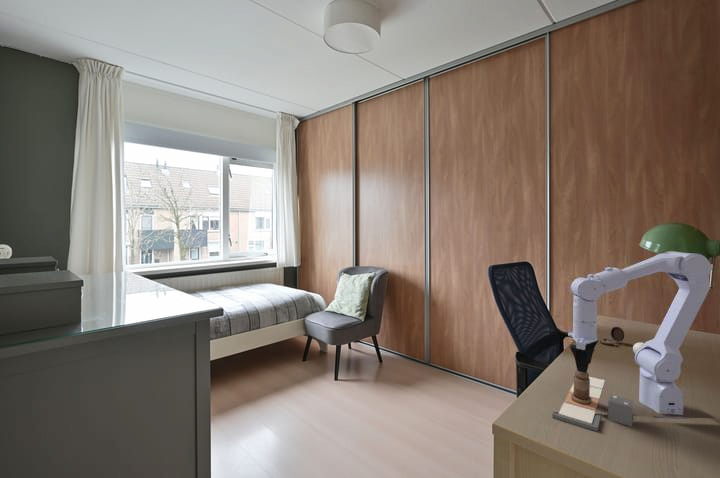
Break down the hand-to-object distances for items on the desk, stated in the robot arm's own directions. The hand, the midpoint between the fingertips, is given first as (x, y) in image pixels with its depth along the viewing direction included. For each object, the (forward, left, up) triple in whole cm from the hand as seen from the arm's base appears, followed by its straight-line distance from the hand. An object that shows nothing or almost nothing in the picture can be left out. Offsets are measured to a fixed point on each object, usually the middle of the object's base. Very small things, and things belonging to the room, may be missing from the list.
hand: (584, 367), depth 101 cm
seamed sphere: (+38, -40, -11) cm, 57 cm away
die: (-8, -5, -10) cm, 14 cm away
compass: (+52, -39, -11) cm, 66 cm away
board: (+2, -1, -10) cm, 11 cm away
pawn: (-1, +1, -9) cm, 9 cm away
